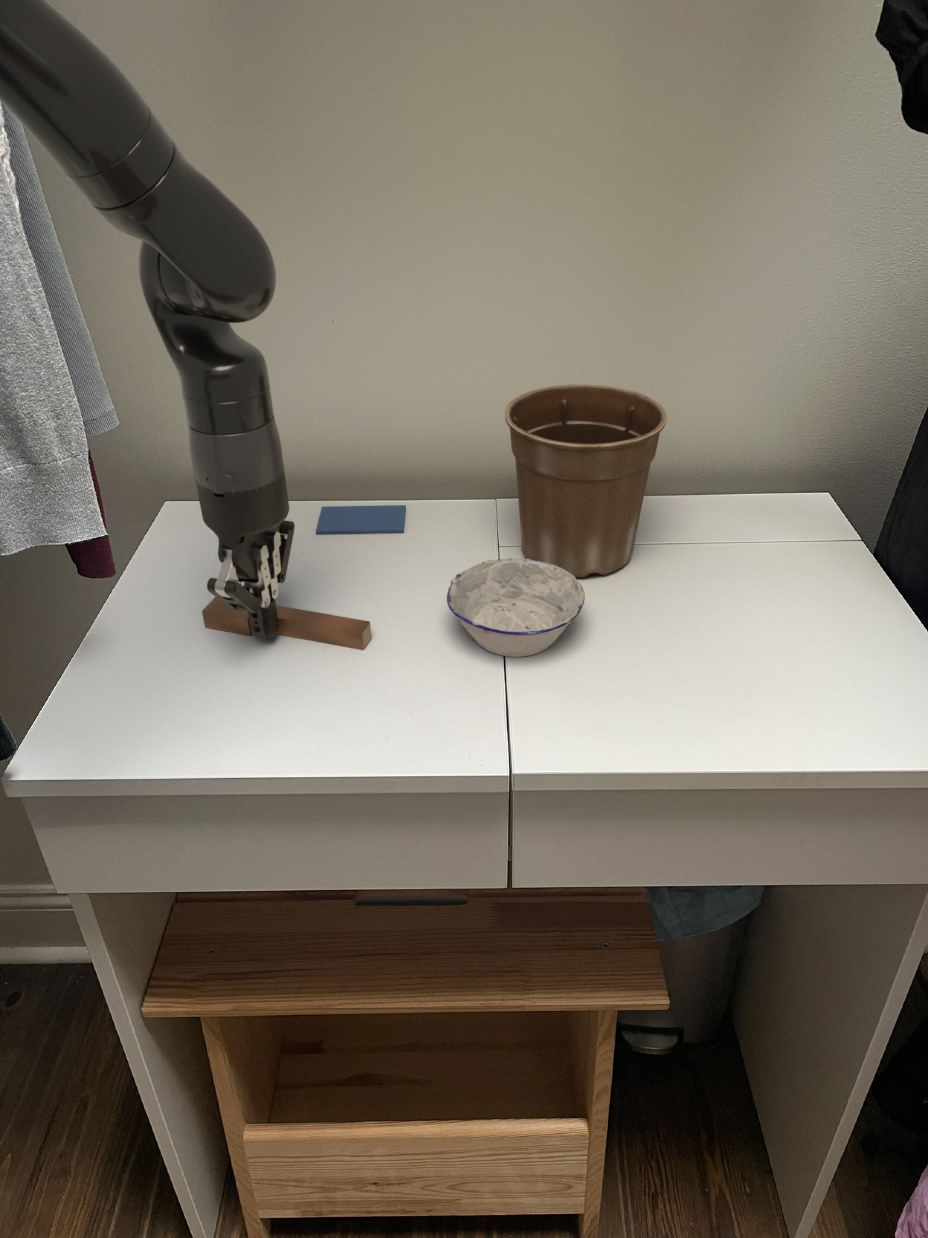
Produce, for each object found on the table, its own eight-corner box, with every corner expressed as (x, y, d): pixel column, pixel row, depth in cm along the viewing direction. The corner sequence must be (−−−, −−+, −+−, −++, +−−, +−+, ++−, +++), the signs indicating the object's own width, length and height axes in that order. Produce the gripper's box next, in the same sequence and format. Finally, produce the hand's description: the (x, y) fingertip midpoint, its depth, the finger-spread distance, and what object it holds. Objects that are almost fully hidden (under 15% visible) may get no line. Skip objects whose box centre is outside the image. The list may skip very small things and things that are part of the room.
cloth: (405, 507, 113) (405, 504, 113) (403, 532, 108) (403, 529, 108) (322, 509, 113) (321, 506, 113) (316, 534, 108) (315, 531, 108)
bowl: (444, 672, 87) (442, 629, 84) (452, 595, 97) (451, 555, 94) (586, 674, 86) (589, 631, 83) (578, 597, 96) (581, 556, 94)
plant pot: (533, 504, 113) (537, 373, 104) (667, 529, 107) (683, 393, 98) (480, 571, 101) (479, 429, 92) (628, 603, 95) (642, 456, 86)
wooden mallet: (375, 632, 92) (374, 615, 91) (359, 656, 89) (358, 639, 88) (225, 605, 96) (222, 589, 95) (204, 627, 93) (201, 610, 92)
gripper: (236, 433, 87) (262, 592, 97) (158, 497, 76) (195, 667, 86) (311, 442, 85) (329, 603, 95) (242, 508, 74) (270, 681, 84)
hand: (265, 633), depth 90 cm, fingers closed
